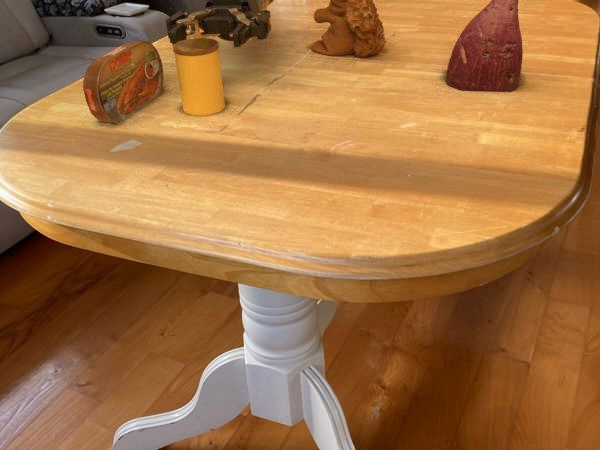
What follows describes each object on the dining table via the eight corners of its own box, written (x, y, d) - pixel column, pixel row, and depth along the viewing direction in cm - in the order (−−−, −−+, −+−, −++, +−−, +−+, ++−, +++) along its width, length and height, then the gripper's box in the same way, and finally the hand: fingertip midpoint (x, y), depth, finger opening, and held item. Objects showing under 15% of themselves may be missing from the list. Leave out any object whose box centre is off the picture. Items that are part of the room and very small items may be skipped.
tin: (109, 134, 74) (94, 69, 69) (88, 131, 75) (72, 67, 70) (169, 91, 86) (159, 33, 81) (150, 90, 86) (139, 32, 82)
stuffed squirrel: (348, 37, 105) (348, -42, 98) (403, 55, 96) (408, -31, 88) (303, 48, 101) (300, -34, 93) (357, 68, 91) (358, -21, 84)
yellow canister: (177, 118, 77) (165, 51, 72) (190, 102, 82) (181, 37, 77) (219, 120, 76) (211, 51, 71) (230, 103, 81) (223, 38, 76)
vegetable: (497, 89, 90) (534, -13, 84) (525, 106, 81) (568, -7, 75) (433, 76, 89) (465, -30, 82) (453, 92, 79) (491, -26, 73)
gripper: (188, -17, 89) (148, 10, 76) (279, -17, 87) (254, 10, 74) (195, 32, 94) (158, 66, 80) (282, 33, 91) (259, 68, 78)
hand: (204, 39), depth 77 cm, fingers open, 8 cm apart
